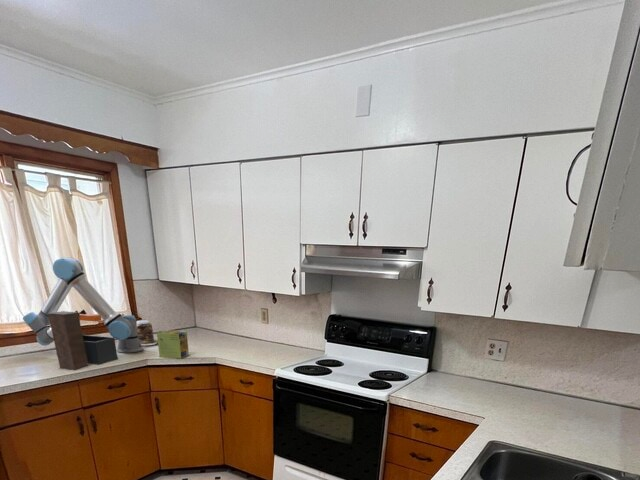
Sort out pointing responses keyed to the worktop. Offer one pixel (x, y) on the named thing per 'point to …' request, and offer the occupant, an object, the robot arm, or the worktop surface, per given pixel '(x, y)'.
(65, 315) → the stand
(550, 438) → the worktop surface
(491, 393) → the worktop surface
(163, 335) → the protein box
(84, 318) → the orange bar
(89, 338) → the trash bin
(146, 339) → the jar
